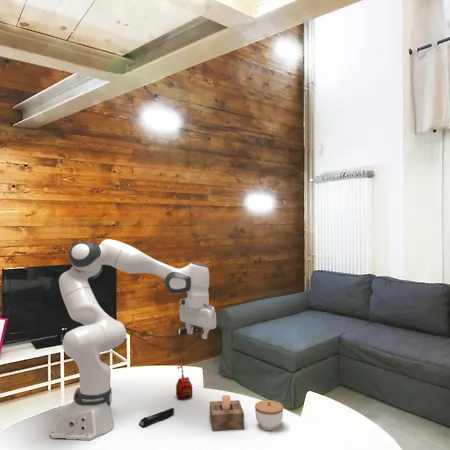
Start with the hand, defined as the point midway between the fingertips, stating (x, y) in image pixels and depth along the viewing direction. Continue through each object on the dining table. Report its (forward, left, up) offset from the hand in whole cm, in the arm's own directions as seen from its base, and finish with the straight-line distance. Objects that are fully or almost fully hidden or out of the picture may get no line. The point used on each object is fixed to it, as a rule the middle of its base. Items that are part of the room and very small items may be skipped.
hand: (196, 336), depth 160 cm
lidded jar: (+27, -13, -32) cm, 44 cm away
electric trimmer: (-16, -3, -32) cm, 36 cm away
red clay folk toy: (-5, +18, -32) cm, 37 cm away
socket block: (+11, -8, -32) cm, 35 cm away
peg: (+11, -8, -32) cm, 35 cm away
